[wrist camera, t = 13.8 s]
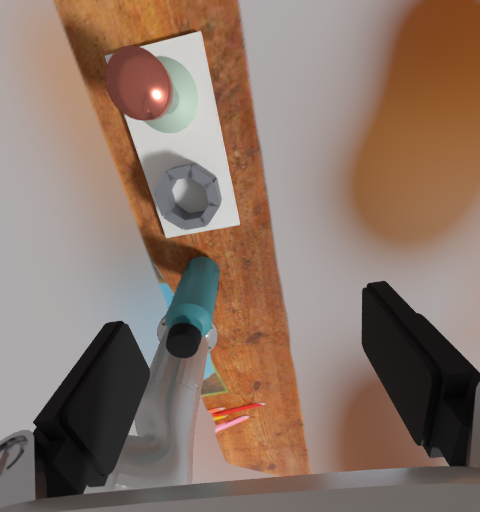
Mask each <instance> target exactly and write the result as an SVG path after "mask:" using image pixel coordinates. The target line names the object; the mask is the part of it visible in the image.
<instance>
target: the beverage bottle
mask: <svg viewBox="0 0 480 512" xmlns="http://www.w3.org/2000/svg"><path fill="white" fill-rule="evenodd" d="M186 265H187V266H186V268H185V271H184V272H183V274H182V275H181V280H180V283H179V284H178V287H177V290H176V289H175V290H176V292H175V295H174V298H173V300H172V303H171V305H170V308H169V310H168V311H167V314H166V317H165V322H166V326H167V328H168V329H169V332H168V336H167V341H166V348H167V350H168V352H169V353H170V354H171V355H173V356H175V357H178V358H189V357H192V356H193V355H195V354H196V352H197V351H198V348H199V345H200V343H201V339H202V337H204V336H205V335H207V334H208V333H209V331H210V330H211V327H212V319H213V313H214V307H215V302H216V297H217V295H218V292H217V291H218V290H217V289H219V288H218V287H219V283H218V282H219V278H220V277H219V276H220V270H219V267H218V265H217V264H216V263H215V262H214V261H213V260H212V259H210V258H208V257H196V258H193V259H191V261H189V263H188V264H186Z"/></svg>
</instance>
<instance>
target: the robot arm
mask: <svg viewBox="0 0 480 512" xmlns="http://www.w3.org/2000/svg"><path fill="white" fill-rule="evenodd" d="M165 317H166V315H165V316H164V317H163V318H162V320H161V321H160V323H159V326H158V330H157V336H158V339H159V341H160V344H159V346H158V349H157V351H156V354H155V356H154V359H153V361H152V364H151V366H150V368H149V367H148V365H147V363H146V361H145V359H144V357H143V355H142V353H141V351H140V349H139V346H138V344H137V342H136V340H135V338H134V336H133V334H132V332H131V330H130V328H129V326H128V325H127V324H124V322H122V321H116V322H109V323H106V324H105V325H104V326H103V328H102V329H101V330H100V332H99V333H98V334H97V336H96V337H95V339H94V340H93V341H92V343H91V344H90V345H89V347H88V348H87V349H86V351H85V352H84V354H83V355H82V356H81V358H80V359H79V360H78V362H77V363H76V364H75V366H74V367H73V368H72V370H71V371H70V373H69V374H68V375H67V377H66V378H65V379H64V381H63V382H62V384H61V385H60V386H59V388H58V389H57V390H56V392H55V393H54V394H53V396H52V397H51V399H50V400H49V401H48V403H47V404H46V405H45V407H44V408H43V409H42V411H41V412H40V413H39V415H38V416H37V418H36V419H35V420H34V422H33V423H34V424H35V425H36V426H37V428H36V429H35V430H34V432H33V433H32V432H31V431H29V430H22V431H19V432H16V433H13V434H11V435H9V436H8V437H6V438H4V439H3V440H2V441H0V512H480V373H479V372H478V371H477V370H476V369H475V368H474V367H473V365H472V364H471V363H470V362H469V361H468V360H467V359H465V357H464V356H462V354H461V353H460V352H459V351H458V350H457V349H456V348H455V347H454V346H453V345H452V344H451V343H450V342H449V341H448V340H447V339H446V338H445V337H444V336H443V335H442V334H441V333H440V332H439V331H438V330H437V329H436V328H435V327H434V326H433V325H432V324H431V323H430V322H429V321H428V320H427V319H426V318H425V317H424V316H422V315H421V314H418V313H416V312H415V311H414V310H413V309H412V308H411V307H410V306H409V305H408V304H407V303H406V302H405V301H404V300H403V299H402V298H401V297H400V296H399V295H398V294H397V293H396V291H394V290H393V288H392V287H391V286H390V285H389V284H388V283H387V282H385V281H381V282H374V283H368V284H367V288H363V290H362V346H363V349H364V351H365V353H366V355H367V357H368V359H369V361H370V362H371V364H372V366H373V368H374V370H375V371H376V373H377V375H378V377H379V379H380V380H381V382H382V384H383V386H384V387H385V389H386V391H387V393H388V395H389V397H390V398H391V400H392V402H393V404H394V406H395V407H396V409H397V411H398V413H399V415H400V416H401V418H402V420H403V422H404V424H405V425H406V427H407V429H408V431H409V433H410V435H411V436H412V438H413V440H414V441H415V443H416V444H417V445H419V446H422V445H423V447H424V449H425V450H426V452H427V454H428V456H429V457H430V458H435V457H444V458H445V459H446V461H447V463H448V464H449V467H448V466H445V467H443V466H440V467H412V468H394V469H377V470H363V471H350V472H336V473H323V474H311V475H298V476H285V477H273V478H261V479H249V480H237V481H225V482H213V483H201V484H192V464H193V441H194V433H195V425H196V418H197V412H198V406H199V400H200V394H201V388H202V382H203V376H204V370H205V364H206V358H207V353H209V352H210V351H211V350H212V349H213V348H214V346H215V344H216V342H217V336H218V332H217V328H216V326H215V324H214V323H213V321H212V327H211V330H210V331H209V333H208V334H207V335H205V336H204V337H202V339H201V343H200V345H199V348H198V351H197V352H196V354H195V355H193V356H192V357H189V358H178V357H175V356H173V355H171V354H170V353H169V352H168V350H167V348H166V341H167V336H168V332H169V329H168V328H167V326H166V322H165ZM133 420H135V426H136V430H137V434H138V436H131V435H128V433H129V430H130V428H131V425H132V423H133Z"/></svg>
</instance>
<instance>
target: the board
mask: <svg viewBox="0 0 480 512" xmlns="http://www.w3.org/2000/svg"><path fill="white" fill-rule="evenodd" d="M141 48H144V49H146V50H148V51H149V52H150V53H152V54H153V55H154V56H155V57H156V58H157V59H159V60H160V61H161V62H162V63H163V65H164V66H165V67H166V69H167V70H168V72H169V74H170V77H171V80H172V84H173V85H174V86H175V88H176V89H177V91H178V94H179V104H178V107H177V109H176V110H175V111H174V112H173V113H171V114H165V115H164V116H163V117H161V118H160V119H157V120H154V121H142V120H136V119H132V118H130V117H128V116H126V115H125V114H124V115H125V118H126V121H127V124H128V127H129V130H130V133H131V136H132V139H133V142H134V144H135V147H136V150H137V153H138V156H139V159H140V162H141V165H142V168H143V171H144V174H145V177H146V180H147V183H148V186H149V189H150V192H151V195H152V198H153V200H154V203H155V206H156V209H157V212H158V215H159V218H160V221H161V224H162V227H163V230H164V233H165V236H166V238H169V237H175V236H180V235H186V234H191V233H197V232H202V231H208V230H214V229H219V228H225V227H230V226H236V225H240V221H239V216H238V211H237V206H236V201H235V196H234V191H233V186H232V181H231V177H230V172H229V167H228V162H227V157H226V152H225V147H224V142H223V137H222V132H221V127H220V122H219V117H218V112H217V107H216V102H215V97H214V92H213V87H212V82H211V78H210V73H209V68H208V63H207V58H206V53H205V48H204V43H203V38H202V33H201V31H199V32H195V33H191V34H187V35H183V36H180V37H176V38H172V39H168V40H164V41H160V42H156V43H152V44H148V45H144V46H141ZM113 54H114V53H113ZM113 54H109V55H106V56H105V59H106V62H107V64H108V62H109V60H110V58H111V56H112V55H113Z"/></svg>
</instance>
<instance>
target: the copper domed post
mask: <svg viewBox="0 0 480 512" xmlns="http://www.w3.org/2000/svg"><path fill="white" fill-rule="evenodd" d="M105 79H106V87H107V90H108V93H109V96H110V98H111V100H112V101H113V103H114V104H115V106H116V107H117V108H118V109H119V110H120V111H121V112H122V113H123V114H125V115H126V116H128V117H130V118H132V119H136V120H142V121H154V120H157V119H160V118H161V117H163V116H164V115H165V114H171V113H173V112H174V111H175V110H176V109H177V107H178V104H179V94H178V91H177V89H176V88H175V86H174V85H173V84H172V80H171V77H170V74H169V72H168V70H167V69H166V67H165V66H164V65H163V63H162V62H161V61H160V60H159V59H157V58H156V57H155V56H154V55H153V54H152V53H150V52H149V51H148V50H146V49H144V48H141V47H138V46H126V47H123V48H120V49H119V50H117V51H116V52H115V53H114V54H113V55H112V56H111V58H110V60H109V62H108V64H107V67H106V75H105Z"/></svg>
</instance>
